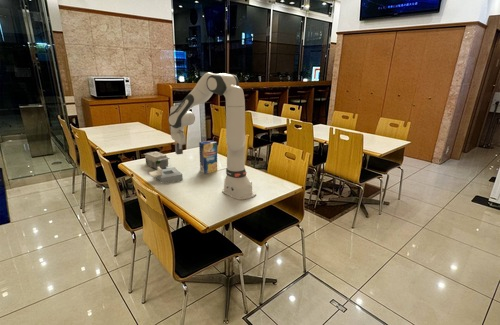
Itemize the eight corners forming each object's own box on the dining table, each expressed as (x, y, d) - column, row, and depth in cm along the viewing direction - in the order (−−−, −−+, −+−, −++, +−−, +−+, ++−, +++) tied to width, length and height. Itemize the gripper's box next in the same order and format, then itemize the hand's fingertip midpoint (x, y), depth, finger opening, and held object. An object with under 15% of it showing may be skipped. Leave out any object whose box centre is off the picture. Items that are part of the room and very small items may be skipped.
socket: (182, 179, 190) (182, 174, 189) (162, 183, 183) (161, 177, 182) (174, 172, 203) (174, 167, 202) (155, 175, 195) (154, 170, 194)
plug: (182, 153, 197) (182, 141, 194) (177, 154, 195) (176, 142, 192) (180, 152, 200) (180, 140, 197) (175, 153, 198) (174, 140, 195)
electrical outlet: (158, 172, 201) (156, 159, 198) (142, 164, 221) (141, 152, 218) (173, 168, 208) (171, 156, 205) (156, 161, 228) (155, 150, 226)
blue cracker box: (217, 170, 209) (217, 142, 202) (204, 173, 202) (203, 144, 195) (212, 168, 214) (212, 140, 207) (199, 170, 208) (199, 142, 201)
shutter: (162, 174, 186) (162, 169, 185) (151, 176, 182) (151, 171, 181) (159, 171, 192) (159, 166, 190) (148, 173, 188) (148, 168, 187)
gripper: (187, 131, 185) (188, 150, 189) (177, 125, 201) (178, 144, 206) (178, 131, 182) (179, 152, 186) (168, 126, 198) (170, 145, 202)
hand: (178, 147), depth 196 cm, fingers closed on plug, 4 cm apart
